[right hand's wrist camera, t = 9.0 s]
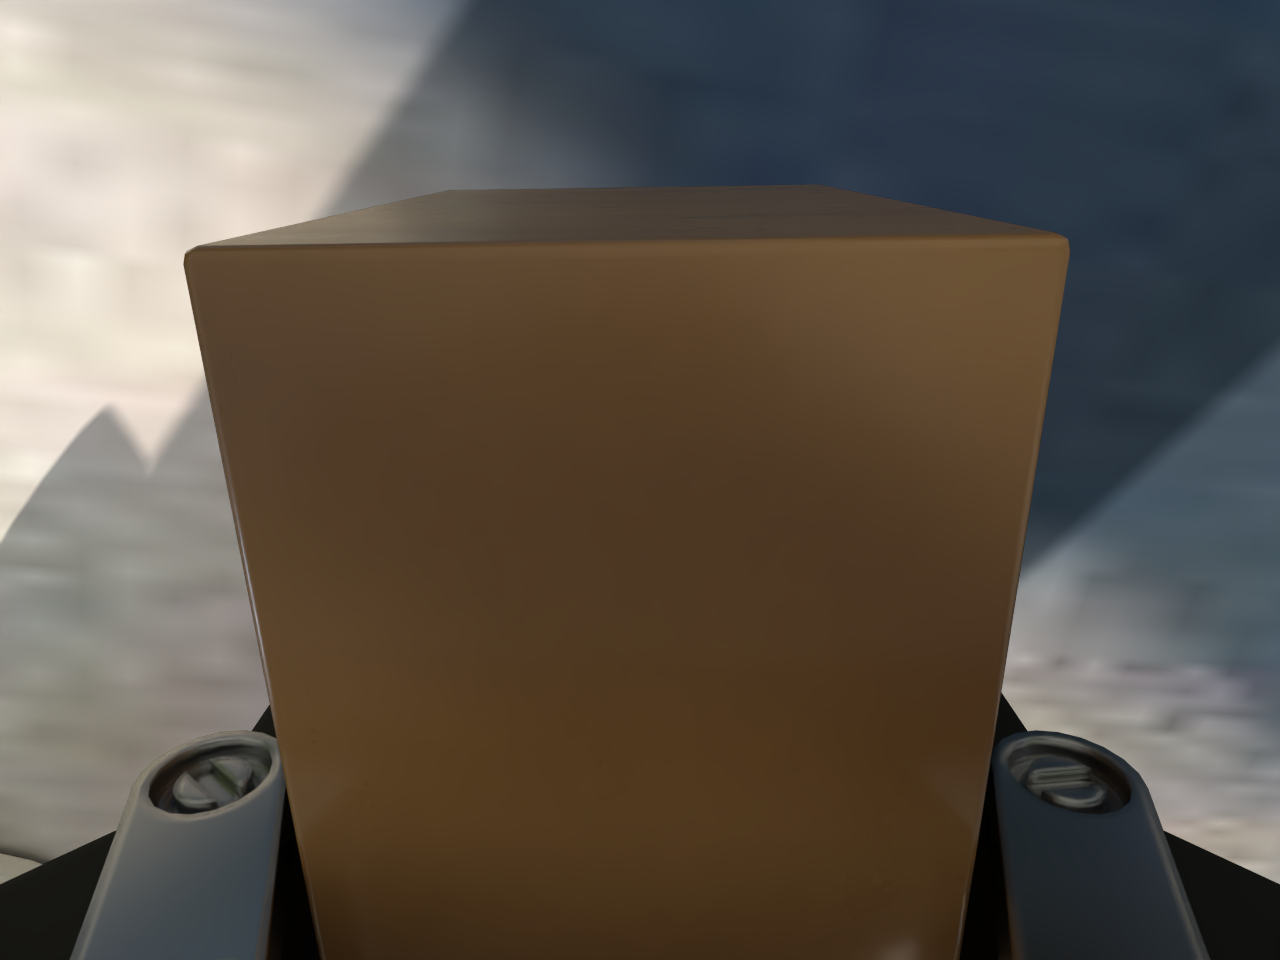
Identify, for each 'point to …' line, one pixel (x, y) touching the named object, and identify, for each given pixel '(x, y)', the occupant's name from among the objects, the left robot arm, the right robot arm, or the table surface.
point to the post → (633, 560)
